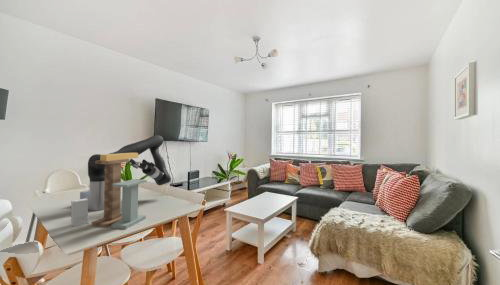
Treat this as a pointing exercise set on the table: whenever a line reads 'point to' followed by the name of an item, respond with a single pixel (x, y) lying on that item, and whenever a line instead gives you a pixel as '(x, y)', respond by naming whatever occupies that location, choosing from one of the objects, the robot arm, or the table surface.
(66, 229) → the table surface
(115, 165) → the walnut stand
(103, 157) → the ochre bar
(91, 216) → the table surface
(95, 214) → the table surface
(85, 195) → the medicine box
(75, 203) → the skincare box
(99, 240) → the table surface
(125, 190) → the slate pedestal
